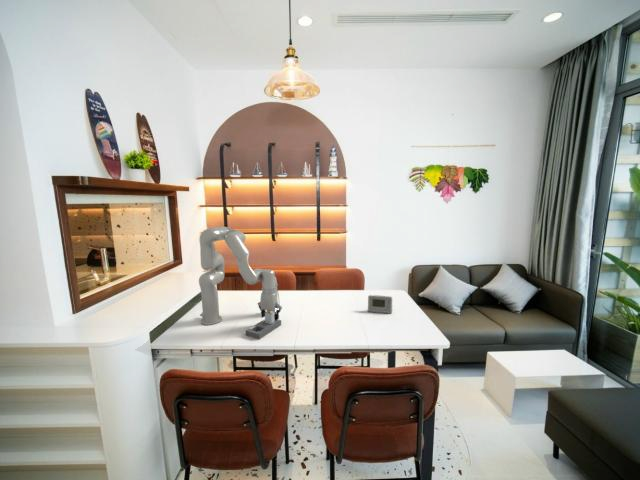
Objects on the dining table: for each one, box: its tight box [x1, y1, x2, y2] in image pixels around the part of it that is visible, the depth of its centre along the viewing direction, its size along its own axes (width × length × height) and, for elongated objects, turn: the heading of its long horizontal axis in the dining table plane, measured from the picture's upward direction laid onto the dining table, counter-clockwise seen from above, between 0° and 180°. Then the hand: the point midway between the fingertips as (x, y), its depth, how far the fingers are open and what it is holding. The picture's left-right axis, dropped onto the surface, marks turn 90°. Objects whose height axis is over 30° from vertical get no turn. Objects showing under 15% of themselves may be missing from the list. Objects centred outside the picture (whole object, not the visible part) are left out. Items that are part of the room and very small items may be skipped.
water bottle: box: [266, 276, 280, 314], centre depth 182 cm, size 9×8×25 cm
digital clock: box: [367, 294, 393, 314], centre depth 185 cm, size 16×9×11 cm, turn 66°
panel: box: [244, 318, 282, 340], centre depth 159 cm, size 10×20×3 cm, turn 152°
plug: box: [264, 310, 275, 324], centre depth 164 cm, size 4×4×10 cm
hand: (270, 318), depth 164 cm, fingers open, 9 cm apart
